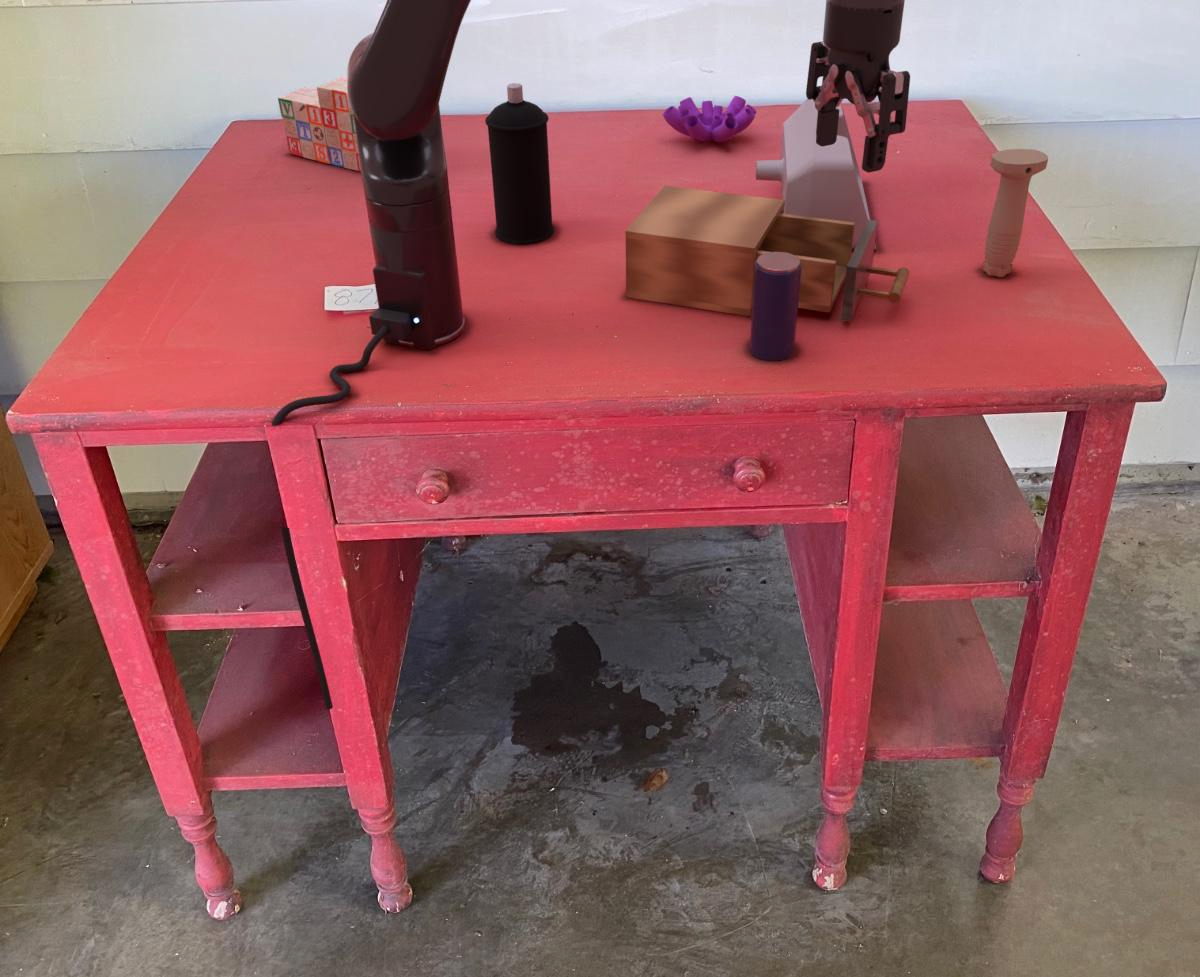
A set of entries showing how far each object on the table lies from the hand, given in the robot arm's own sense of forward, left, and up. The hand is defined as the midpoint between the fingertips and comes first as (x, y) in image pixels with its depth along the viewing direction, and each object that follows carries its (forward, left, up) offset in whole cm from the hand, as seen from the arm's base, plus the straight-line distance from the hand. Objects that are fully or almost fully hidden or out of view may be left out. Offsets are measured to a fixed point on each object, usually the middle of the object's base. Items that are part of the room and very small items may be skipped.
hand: (848, 157), depth 119 cm
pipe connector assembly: (+55, +31, -21) cm, 67 cm away
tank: (+31, +9, -21) cm, 38 cm away
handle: (+20, -17, -21) cm, 33 cm away
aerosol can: (+13, +45, -21) cm, 51 cm away
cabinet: (+7, +17, -20) cm, 27 cm away
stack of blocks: (+30, +83, -21) cm, 91 cm away
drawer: (+7, +3, -19) cm, 21 cm away
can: (-8, +5, -20) cm, 22 cm away
